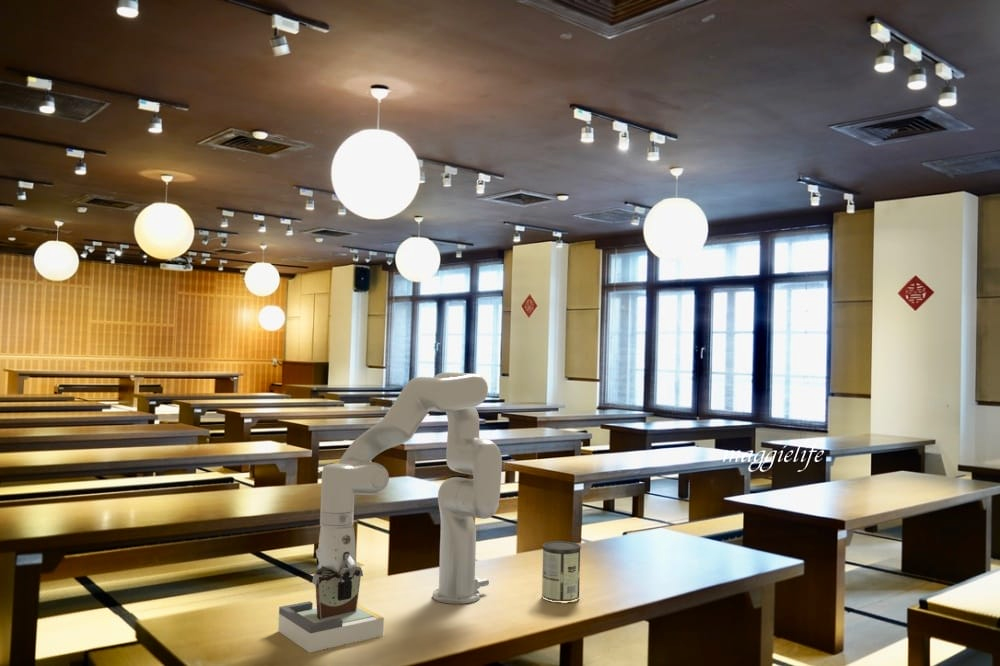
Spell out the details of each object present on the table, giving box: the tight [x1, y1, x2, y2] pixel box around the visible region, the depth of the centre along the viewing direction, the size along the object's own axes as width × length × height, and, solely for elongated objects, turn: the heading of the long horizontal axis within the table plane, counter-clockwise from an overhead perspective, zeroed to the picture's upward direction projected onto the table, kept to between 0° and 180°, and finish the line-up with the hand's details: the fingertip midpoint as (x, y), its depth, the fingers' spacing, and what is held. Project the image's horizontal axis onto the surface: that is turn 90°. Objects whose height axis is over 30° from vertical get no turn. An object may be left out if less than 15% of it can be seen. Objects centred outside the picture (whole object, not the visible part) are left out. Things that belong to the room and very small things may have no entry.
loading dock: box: [277, 600, 385, 654], centre depth 176 cm, size 18×16×6 cm
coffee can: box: [541, 540, 582, 601], centre depth 209 cm, size 10×10×14 cm
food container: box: [311, 565, 364, 620], centre depth 178 cm, size 12×6×10 cm, turn 133°
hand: (334, 594), depth 177 cm, fingers open, 9 cm apart
